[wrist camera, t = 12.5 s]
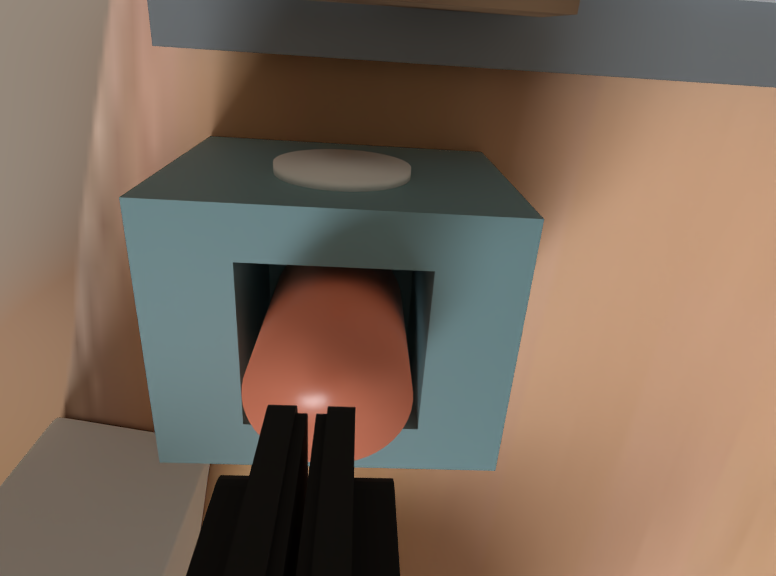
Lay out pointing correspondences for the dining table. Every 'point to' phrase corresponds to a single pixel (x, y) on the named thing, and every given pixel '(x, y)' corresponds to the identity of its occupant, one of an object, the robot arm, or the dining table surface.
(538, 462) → the dining table surface
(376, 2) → the carriage
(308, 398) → the button
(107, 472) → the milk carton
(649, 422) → the dining table surface
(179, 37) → the rail board
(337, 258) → the cabinet
